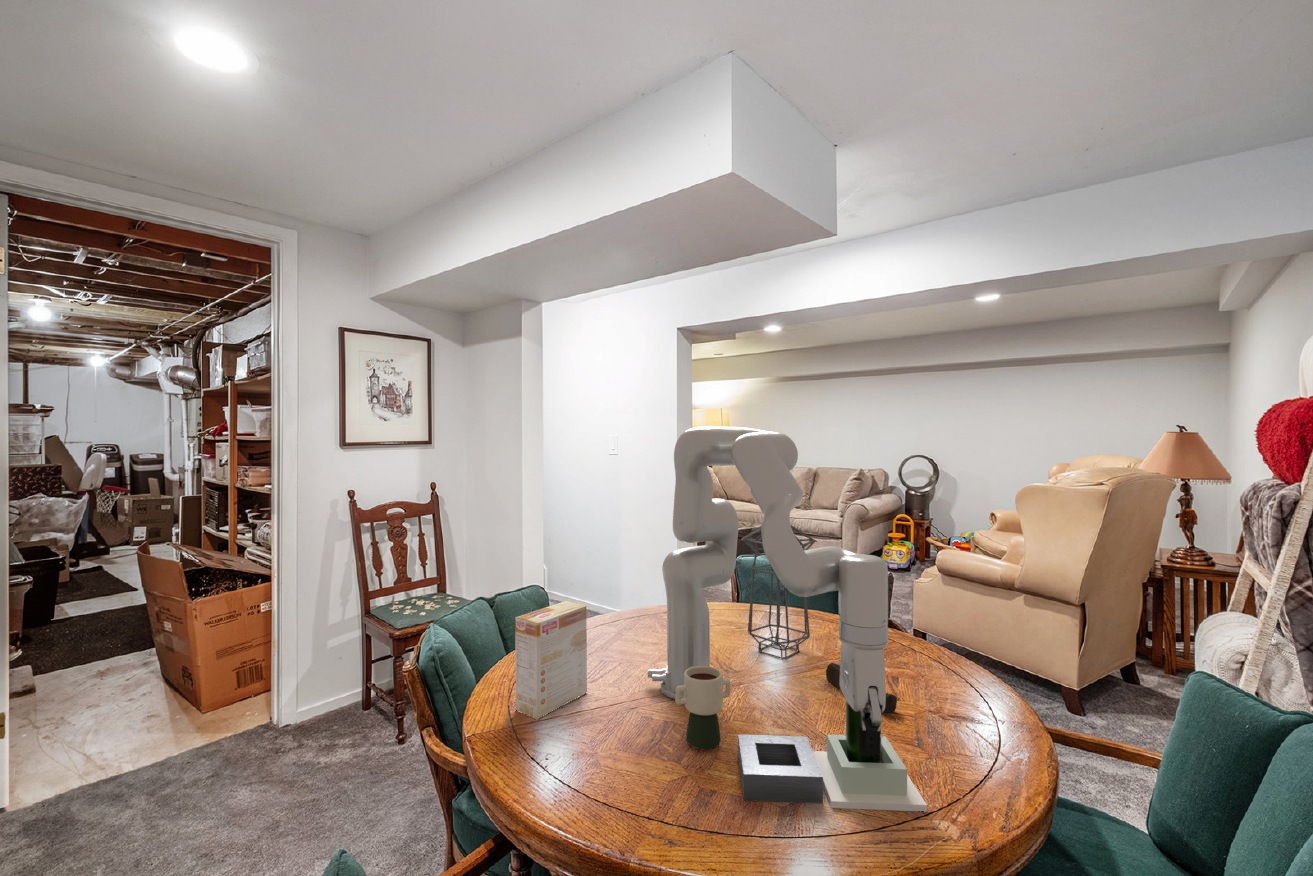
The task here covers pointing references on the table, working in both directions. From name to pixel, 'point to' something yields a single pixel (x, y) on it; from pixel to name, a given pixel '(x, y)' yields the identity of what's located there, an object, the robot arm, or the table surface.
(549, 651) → the coffeecake box
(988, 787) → the table surface
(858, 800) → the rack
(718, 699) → the character mug
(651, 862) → the table surface
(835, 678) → the hand tool
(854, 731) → the beer can
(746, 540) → the geometric lantern
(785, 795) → the socket block
